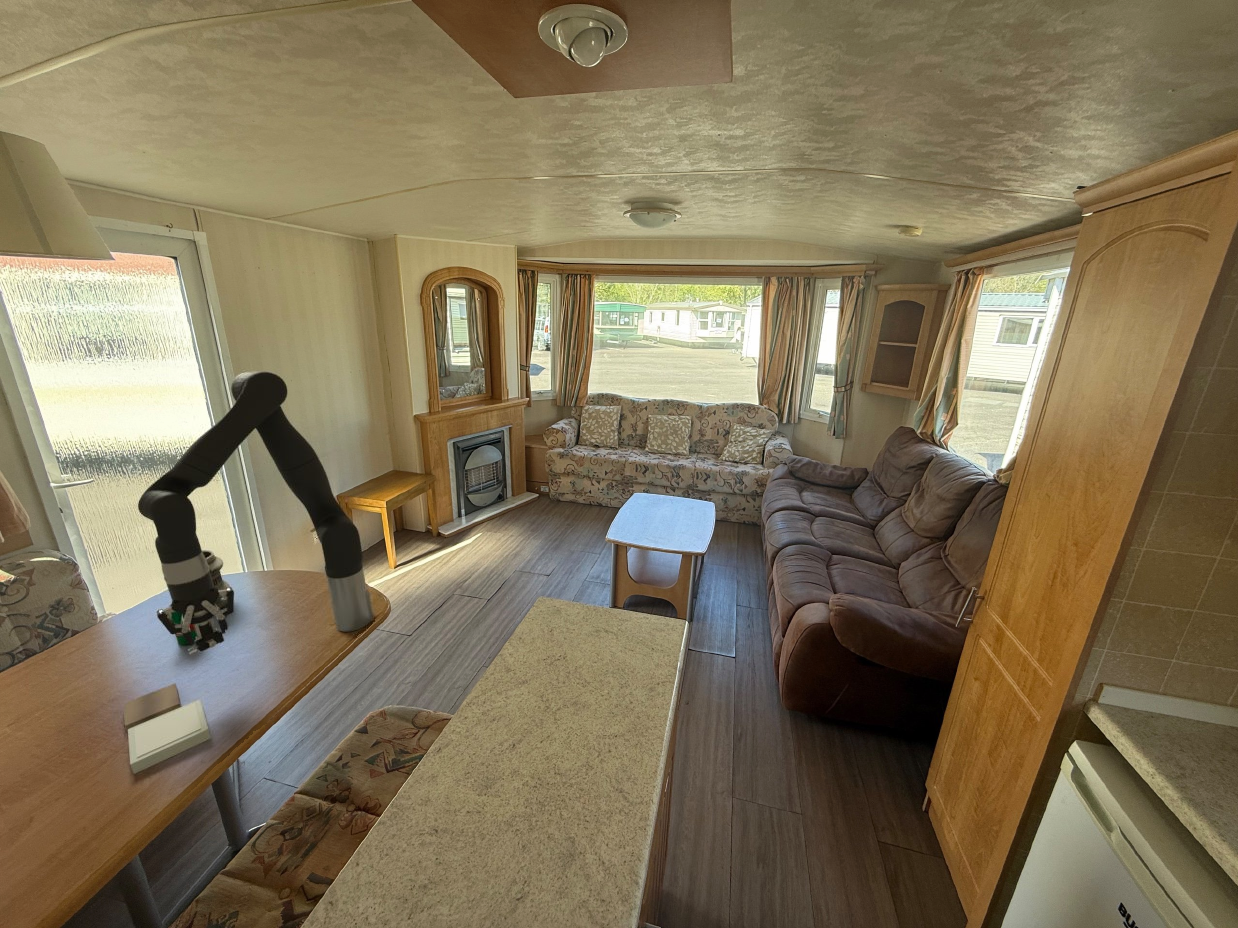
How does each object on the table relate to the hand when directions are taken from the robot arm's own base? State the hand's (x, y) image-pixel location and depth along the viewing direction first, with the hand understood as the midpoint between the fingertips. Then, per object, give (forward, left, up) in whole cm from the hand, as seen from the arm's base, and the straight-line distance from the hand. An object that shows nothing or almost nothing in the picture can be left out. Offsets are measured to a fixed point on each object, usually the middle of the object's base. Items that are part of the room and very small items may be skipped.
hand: (208, 637), depth 115 cm
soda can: (+3, -28, -15) cm, 32 cm away
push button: (+1, 0, -3) cm, 3 cm away
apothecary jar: (-3, -44, -15) cm, 47 cm away
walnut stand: (+12, -2, -14) cm, 19 cm away
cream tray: (+10, +11, -14) cm, 21 cm away
